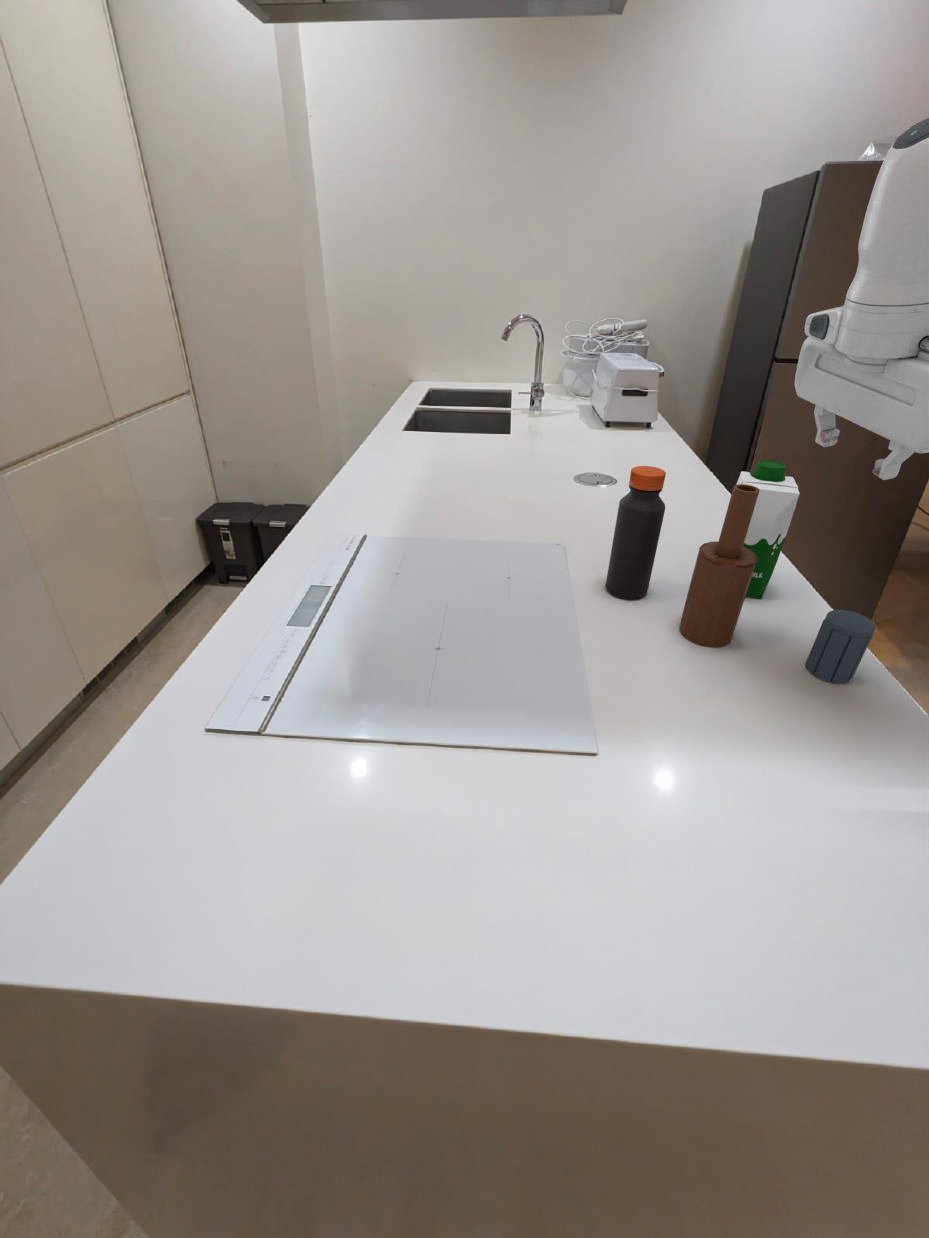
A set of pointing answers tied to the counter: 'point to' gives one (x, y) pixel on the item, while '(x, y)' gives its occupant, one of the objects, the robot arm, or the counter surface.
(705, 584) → the bottle
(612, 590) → the vinegar
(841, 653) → the cylinder
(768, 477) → the milk carton
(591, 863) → the counter surface
